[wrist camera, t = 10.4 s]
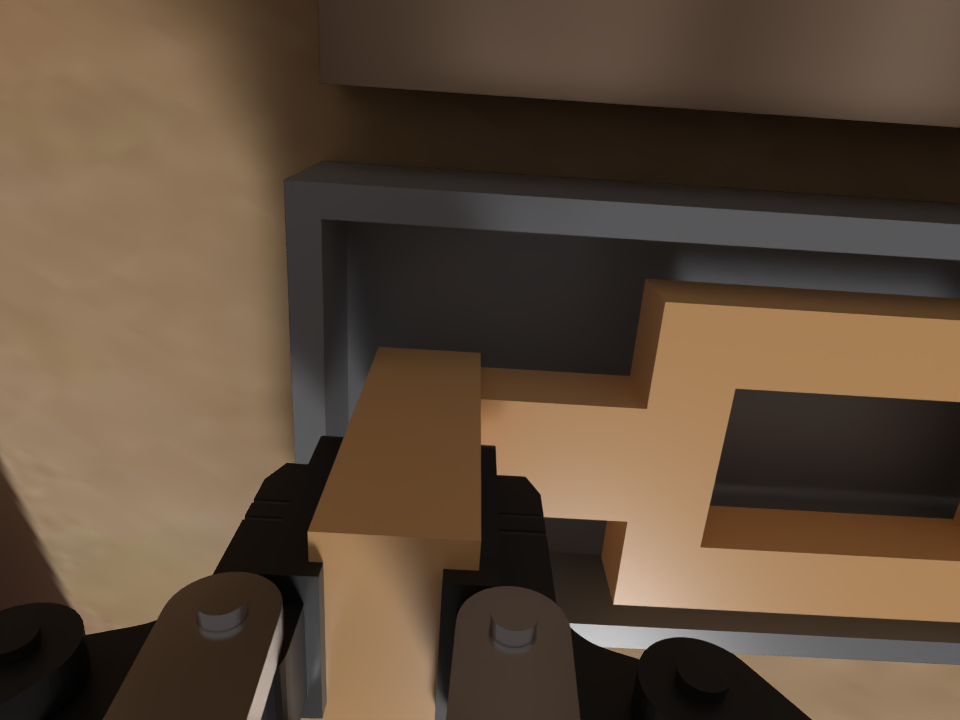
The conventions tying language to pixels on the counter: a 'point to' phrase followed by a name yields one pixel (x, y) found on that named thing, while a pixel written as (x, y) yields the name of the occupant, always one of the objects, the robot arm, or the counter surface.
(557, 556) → the tray
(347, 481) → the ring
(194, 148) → the counter surface
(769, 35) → the board
